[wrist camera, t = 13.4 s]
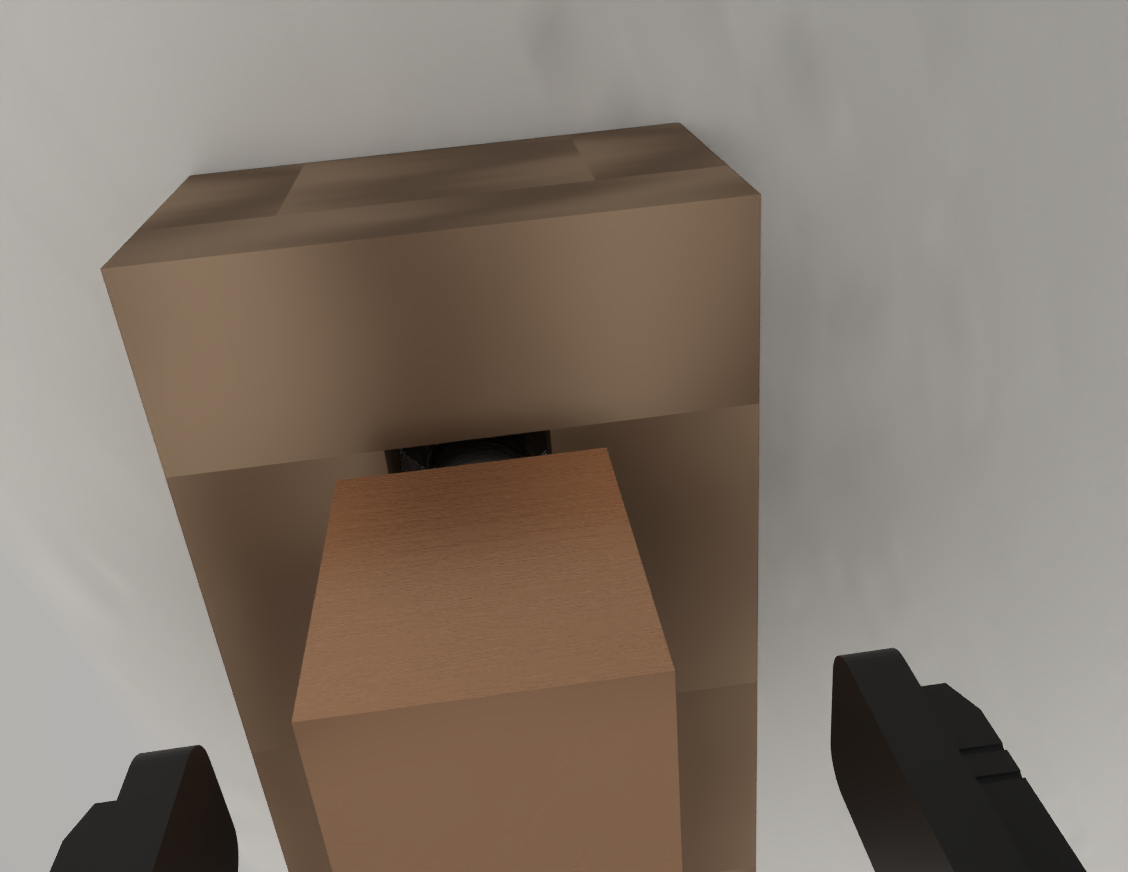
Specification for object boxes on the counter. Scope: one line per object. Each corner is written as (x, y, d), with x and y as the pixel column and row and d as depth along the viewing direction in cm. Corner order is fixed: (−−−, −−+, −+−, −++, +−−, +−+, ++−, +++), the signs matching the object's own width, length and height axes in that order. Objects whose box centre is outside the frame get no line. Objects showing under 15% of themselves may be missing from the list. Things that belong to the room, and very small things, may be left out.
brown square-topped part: (553, 276, 22) (675, 670, 11) (568, 437, 24) (683, 919, 12) (370, 297, 22) (291, 722, 10) (399, 457, 24) (360, 969, 12)
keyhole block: (679, 122, 21) (760, 194, 16) (696, 707, 28) (755, 890, 23) (189, 176, 20) (100, 269, 15) (339, 758, 28) (315, 957, 22)
